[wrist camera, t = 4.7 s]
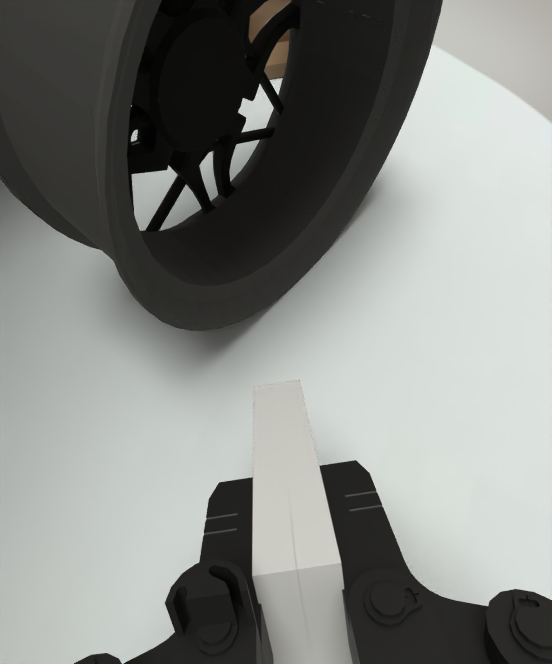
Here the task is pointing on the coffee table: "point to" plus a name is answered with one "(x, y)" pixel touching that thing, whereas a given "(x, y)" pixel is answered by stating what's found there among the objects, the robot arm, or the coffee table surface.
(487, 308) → the coffee table surface
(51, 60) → the wheel rim
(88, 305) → the coffee table surface
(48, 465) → the coffee table surface
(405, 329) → the coffee table surface
